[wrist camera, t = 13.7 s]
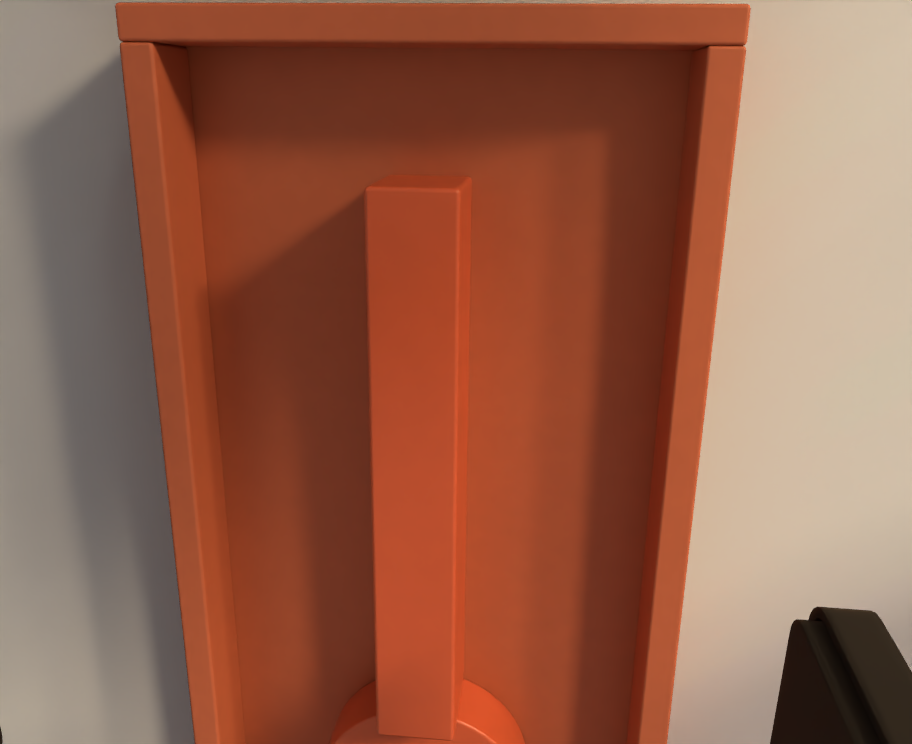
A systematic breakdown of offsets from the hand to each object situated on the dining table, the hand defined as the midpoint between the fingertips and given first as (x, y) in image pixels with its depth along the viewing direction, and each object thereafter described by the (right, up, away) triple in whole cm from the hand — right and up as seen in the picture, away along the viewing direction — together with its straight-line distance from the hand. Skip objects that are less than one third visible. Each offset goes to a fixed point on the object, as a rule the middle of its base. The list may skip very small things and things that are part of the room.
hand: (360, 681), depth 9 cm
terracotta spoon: (0, 0, +9) cm, 9 cm away
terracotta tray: (+1, 0, +9) cm, 9 cm away
